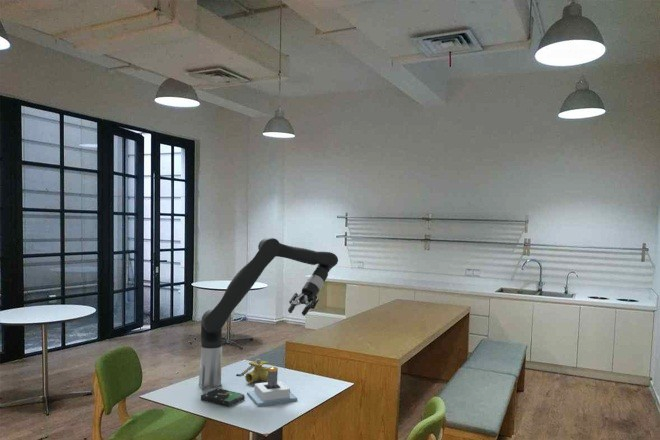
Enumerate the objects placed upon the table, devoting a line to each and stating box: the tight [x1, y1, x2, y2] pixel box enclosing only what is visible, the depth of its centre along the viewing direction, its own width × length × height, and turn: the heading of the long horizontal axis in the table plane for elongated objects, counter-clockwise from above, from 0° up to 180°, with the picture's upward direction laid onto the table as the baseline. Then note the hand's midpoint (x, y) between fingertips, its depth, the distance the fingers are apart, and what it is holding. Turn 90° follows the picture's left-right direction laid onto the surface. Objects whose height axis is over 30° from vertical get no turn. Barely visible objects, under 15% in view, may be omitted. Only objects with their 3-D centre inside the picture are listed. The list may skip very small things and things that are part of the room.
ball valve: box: [245, 358, 269, 384], centre depth 215 cm, size 13×10×10 cm
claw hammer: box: [235, 365, 255, 377], centre depth 231 cm, size 21×7×1 cm, turn 167°
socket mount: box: [246, 380, 298, 407], centre depth 194 cm, size 17×15×5 cm
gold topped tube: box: [267, 366, 279, 389], centre depth 194 cm, size 4×4×11 cm
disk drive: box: [200, 387, 245, 408], centre depth 190 cm, size 10×3×15 cm
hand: (296, 313), depth 212 cm, fingers open, 8 cm apart
